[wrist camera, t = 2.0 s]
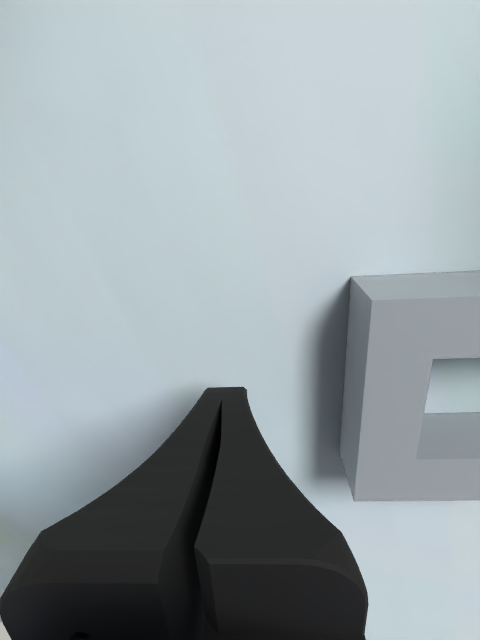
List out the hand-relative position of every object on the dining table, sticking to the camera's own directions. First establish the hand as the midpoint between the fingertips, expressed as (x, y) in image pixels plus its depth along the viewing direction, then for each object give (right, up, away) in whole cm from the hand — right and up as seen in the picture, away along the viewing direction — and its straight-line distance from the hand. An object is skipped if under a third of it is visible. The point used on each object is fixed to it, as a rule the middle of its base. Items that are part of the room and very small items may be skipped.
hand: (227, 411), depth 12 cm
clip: (+8, +1, +2) cm, 8 cm away
